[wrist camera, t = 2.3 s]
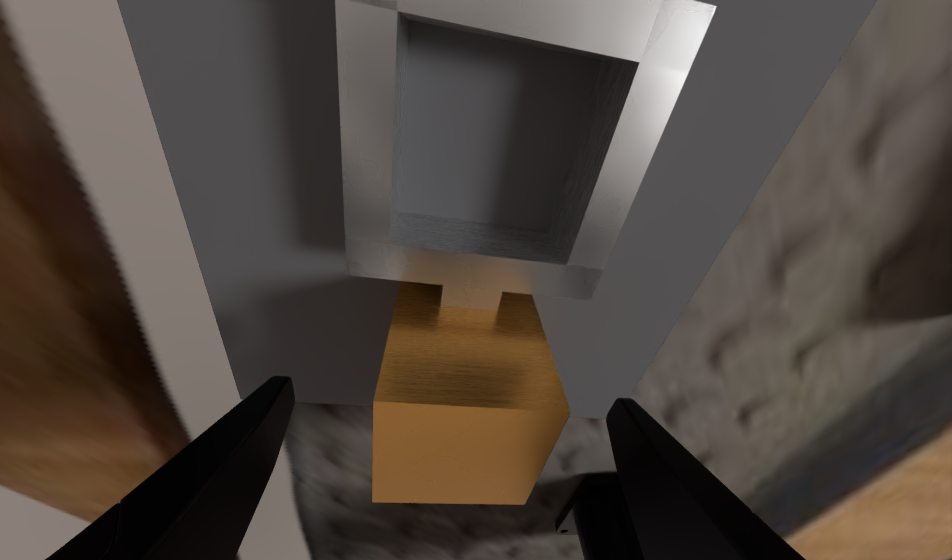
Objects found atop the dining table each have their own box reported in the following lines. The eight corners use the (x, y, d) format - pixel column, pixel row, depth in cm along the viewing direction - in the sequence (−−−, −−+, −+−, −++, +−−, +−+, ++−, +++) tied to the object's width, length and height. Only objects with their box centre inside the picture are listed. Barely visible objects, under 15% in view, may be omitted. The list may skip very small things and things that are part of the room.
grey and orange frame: (516, 408, 15) (541, 544, 11) (365, 399, 14) (329, 545, 10) (659, 16, 8) (907, -27, 3) (360, -55, 7) (213, -225, 3)
